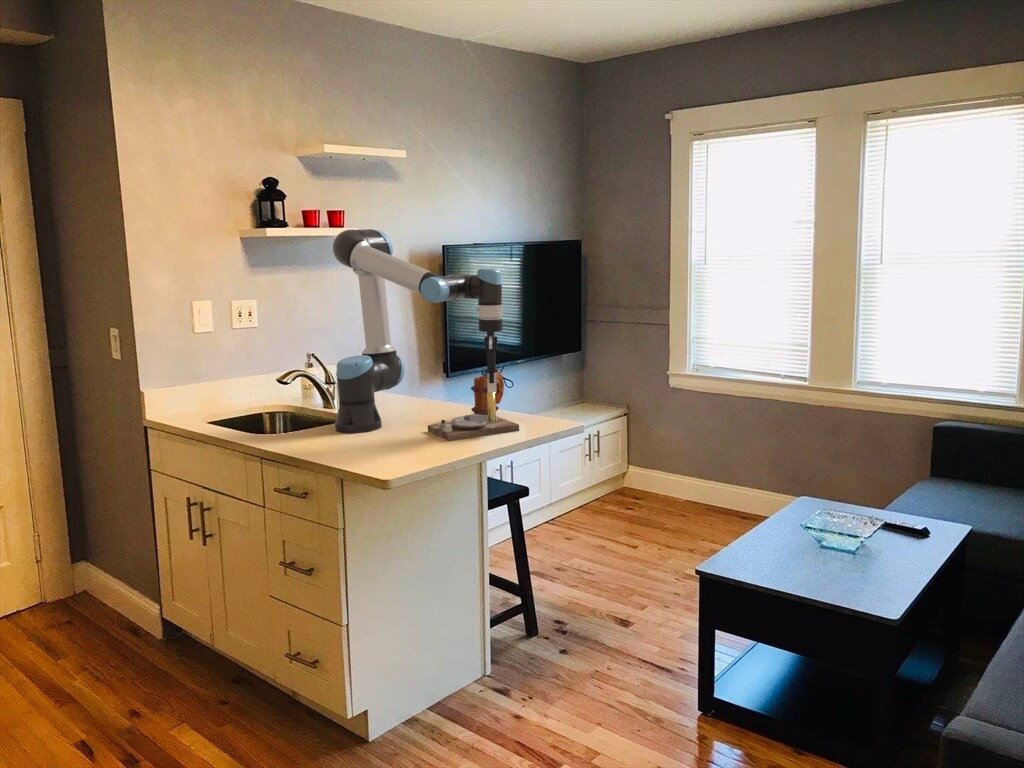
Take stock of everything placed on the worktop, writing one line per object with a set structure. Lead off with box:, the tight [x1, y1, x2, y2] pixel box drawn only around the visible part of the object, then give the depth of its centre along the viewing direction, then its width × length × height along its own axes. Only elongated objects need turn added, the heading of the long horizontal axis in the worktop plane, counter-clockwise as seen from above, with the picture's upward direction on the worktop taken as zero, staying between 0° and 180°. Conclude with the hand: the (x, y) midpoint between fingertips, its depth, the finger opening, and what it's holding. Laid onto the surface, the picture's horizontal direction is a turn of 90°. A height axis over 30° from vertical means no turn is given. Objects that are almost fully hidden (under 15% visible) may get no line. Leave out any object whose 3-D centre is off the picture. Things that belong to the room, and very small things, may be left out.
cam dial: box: [450, 392, 498, 429], centre depth 258 cm, size 16×11×11 cm
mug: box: [470, 371, 505, 415], centre depth 282 cm, size 15×8×15 cm, turn 143°
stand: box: [427, 416, 520, 442], centre depth 262 cm, size 17×24×5 cm
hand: (492, 392), depth 262 cm, fingers closed
